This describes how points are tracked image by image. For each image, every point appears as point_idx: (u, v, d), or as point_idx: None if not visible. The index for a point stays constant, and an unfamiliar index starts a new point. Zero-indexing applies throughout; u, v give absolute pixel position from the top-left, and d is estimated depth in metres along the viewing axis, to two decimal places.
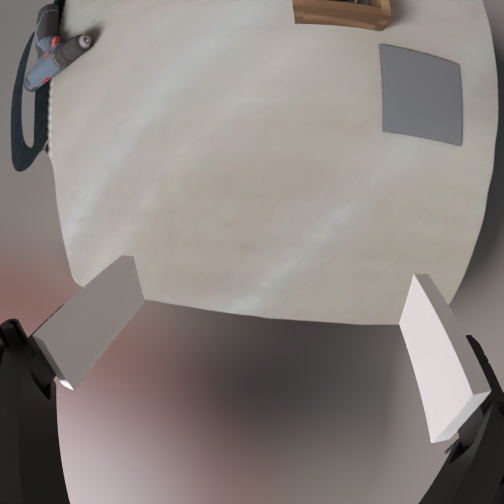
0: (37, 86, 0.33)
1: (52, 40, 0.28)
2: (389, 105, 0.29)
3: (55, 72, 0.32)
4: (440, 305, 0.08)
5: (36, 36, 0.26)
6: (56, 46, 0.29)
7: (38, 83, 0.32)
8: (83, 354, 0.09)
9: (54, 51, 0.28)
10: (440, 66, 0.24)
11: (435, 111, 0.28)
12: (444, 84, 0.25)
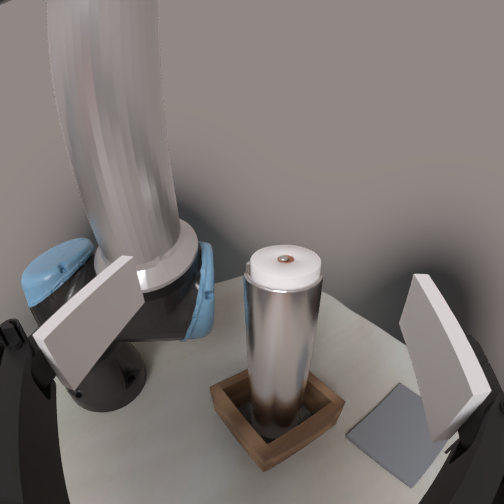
0: None
1: None
2: (397, 468, 0.22)
3: None
4: (440, 305, 0.08)
5: None
6: None
7: None
8: (83, 354, 0.09)
9: None
10: (393, 400, 0.32)
11: (424, 431, 0.26)
12: (408, 408, 0.30)
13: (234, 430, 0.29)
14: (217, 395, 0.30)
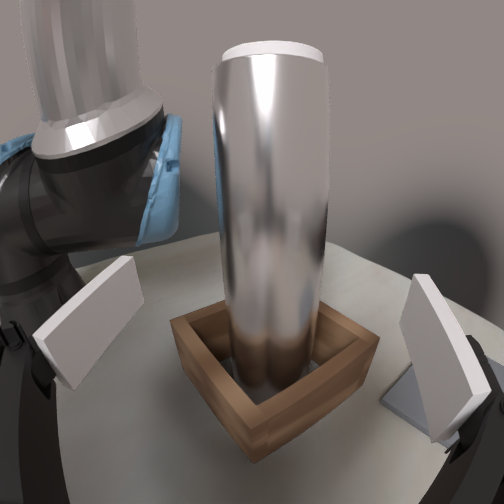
0: None
1: None
2: None
3: None
4: (440, 305, 0.08)
5: None
6: None
7: None
8: (83, 354, 0.09)
9: None
10: None
11: None
12: None
13: (205, 391, 0.19)
14: (179, 330, 0.21)
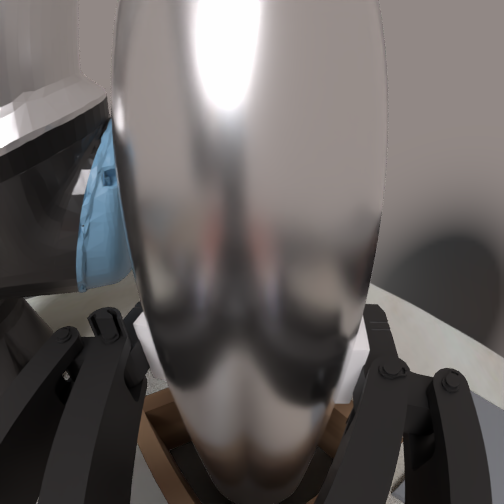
0: None
1: None
2: None
3: None
4: None
5: None
6: None
7: None
8: None
9: None
10: None
11: None
12: (484, 427, 0.13)
13: None
14: None
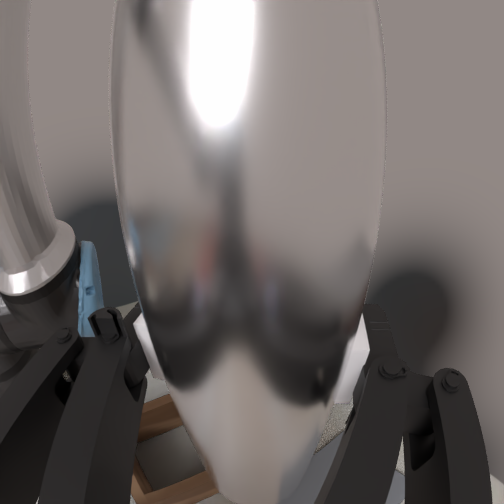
0: None
1: None
2: None
3: None
4: None
5: None
6: None
7: None
8: None
9: None
10: (330, 453, 0.25)
11: None
12: None
13: None
14: None
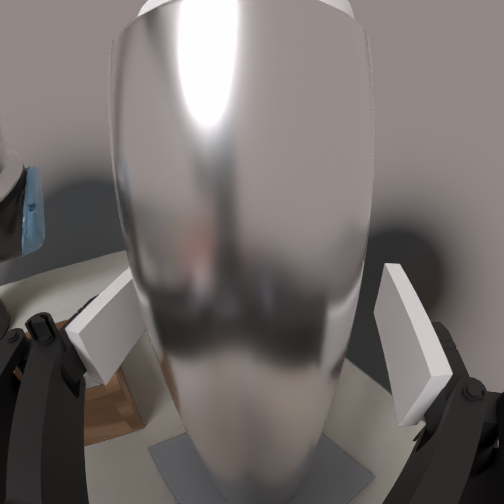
0: None
1: None
2: None
3: None
4: (407, 292, 0.09)
5: None
6: None
7: None
8: (115, 347, 0.09)
9: None
10: None
11: None
12: None
13: None
14: None
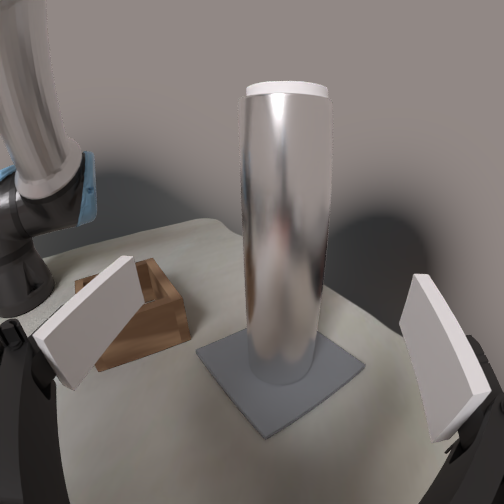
0: None
1: None
2: (248, 404, 0.22)
3: None
4: (440, 305, 0.08)
5: None
6: None
7: None
8: (83, 354, 0.09)
9: None
10: None
11: None
12: None
13: None
14: (76, 286, 0.30)
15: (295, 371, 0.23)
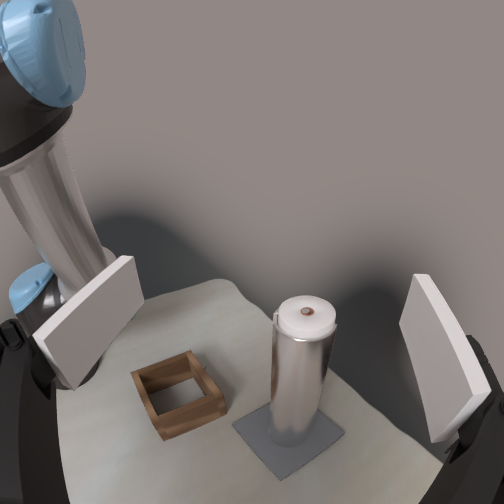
0: None
1: None
2: (269, 460, 0.32)
3: None
4: (440, 305, 0.08)
5: None
6: None
7: None
8: (83, 354, 0.09)
9: None
10: None
11: None
12: None
13: None
14: (134, 378, 0.40)
15: (299, 441, 0.33)
